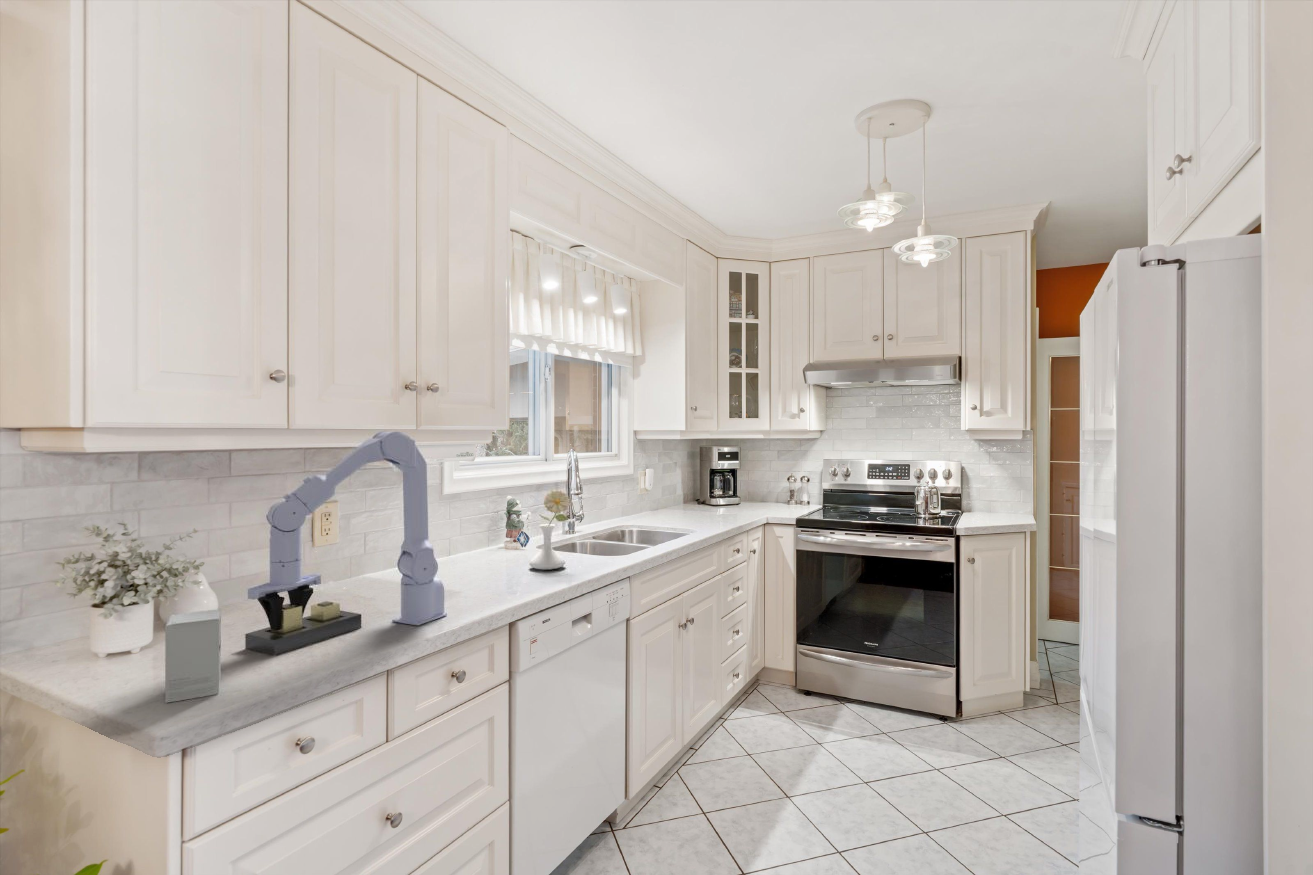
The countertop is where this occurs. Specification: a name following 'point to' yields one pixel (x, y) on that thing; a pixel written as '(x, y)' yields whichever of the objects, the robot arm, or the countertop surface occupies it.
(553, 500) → the flower in vase
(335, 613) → the seated nut
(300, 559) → the robot arm
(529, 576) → the countertop surface
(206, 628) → the supplement box
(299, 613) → the block
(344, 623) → the rail
